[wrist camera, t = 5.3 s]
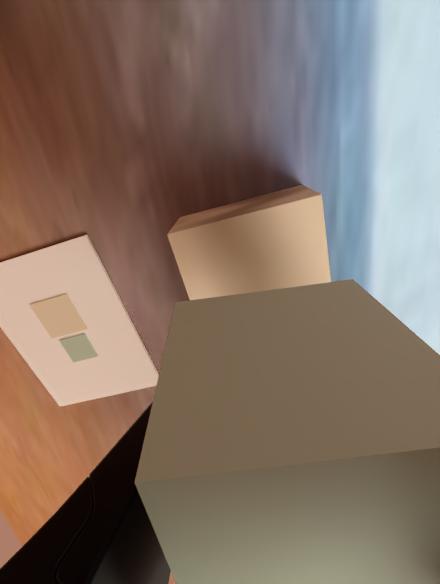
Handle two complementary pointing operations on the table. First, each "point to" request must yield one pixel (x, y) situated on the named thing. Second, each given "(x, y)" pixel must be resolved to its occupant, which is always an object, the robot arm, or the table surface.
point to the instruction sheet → (72, 324)
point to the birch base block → (253, 245)
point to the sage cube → (295, 442)
